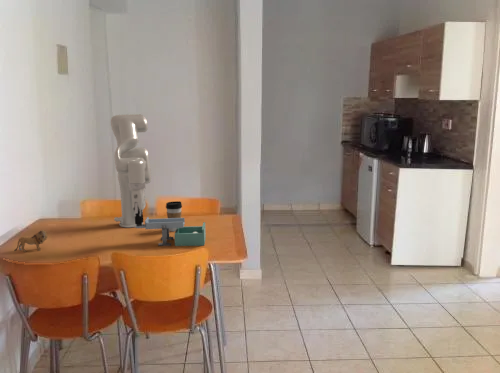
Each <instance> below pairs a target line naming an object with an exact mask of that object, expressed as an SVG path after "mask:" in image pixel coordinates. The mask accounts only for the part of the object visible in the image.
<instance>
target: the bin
mask: <svg viewBox="0 0 500 373" xmlns="http://www.w3.org/2000/svg"><path fill="white" fill-rule="evenodd" d="M193 232H198V233H193ZM206 232H207V231H206V222H203V223H202V225H198V226H195V225H194V226H191V225H190V226H188V225H187V226H185V225H184V227H183V228H177V229H176V231H174V235H173V236H174V246H175V247H189V246H190V247H194V246H195V247H197V246H198V247H199V246H201V247H202V246H205V244H206V239H207V238H206V235H207V234H206Z"/></svg>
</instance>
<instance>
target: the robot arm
mask: <svg viewBox="0 0 500 373" xmlns="http://www.w3.org/2000/svg"><path fill="white" fill-rule="evenodd" d="M110 126H111V130H112V133H113V135H114V137H115V140H116V143H117V147H116V149H115V151H114V154H113V155H114V164H115V165H114V166H115V169H116V172H117V180H118V185H119V190H120V193H119V194H120V205H121V216H119V217H114V219H113V220H114V221H115V222H116V223H117V222H119V227H121V228H136V225H137V224H144V215H143V214H144V209H145V208H146V193H145V190H146V185H148V184H150V183H151V182H152V172H151V171H152V170H151V162H150V161H151V160H150V154H149V150H148V149H147V148H145V147H141V146H140V147H137V146H138V145H139V143H140V142H139V141H140V140H139V136H138V133H146V132H147V131H148V128H149V124H148V120H147V118H146V117H145V115H143V114H142V113H141V114H135V113H134V114H129V113H127V114H116V115H113V116H112V117H111V118H110Z"/></svg>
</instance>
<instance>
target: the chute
mask: <svg viewBox="0 0 500 373" xmlns="http://www.w3.org/2000/svg"><path fill="white" fill-rule="evenodd" d="M185 224H186V223H185V217H181V218H167V217H166V218H165V217H164V218H149V216H147V217H146V219H145V220H144V223H143V224H137V225H136V227H135V229H145V230H162V226H166V229H168V228H183V227H184V226H185Z"/></svg>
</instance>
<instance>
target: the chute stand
mask: <svg viewBox="0 0 500 373" xmlns="http://www.w3.org/2000/svg"><path fill="white" fill-rule="evenodd" d="M168 240H169V241H172V240H173V241H174V240H175V236H170V231H169V228H168V229H166V226H162V229H161V237H160V241H162V242H158V243H157V246H158V247H171V246H172V242H168Z"/></svg>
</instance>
